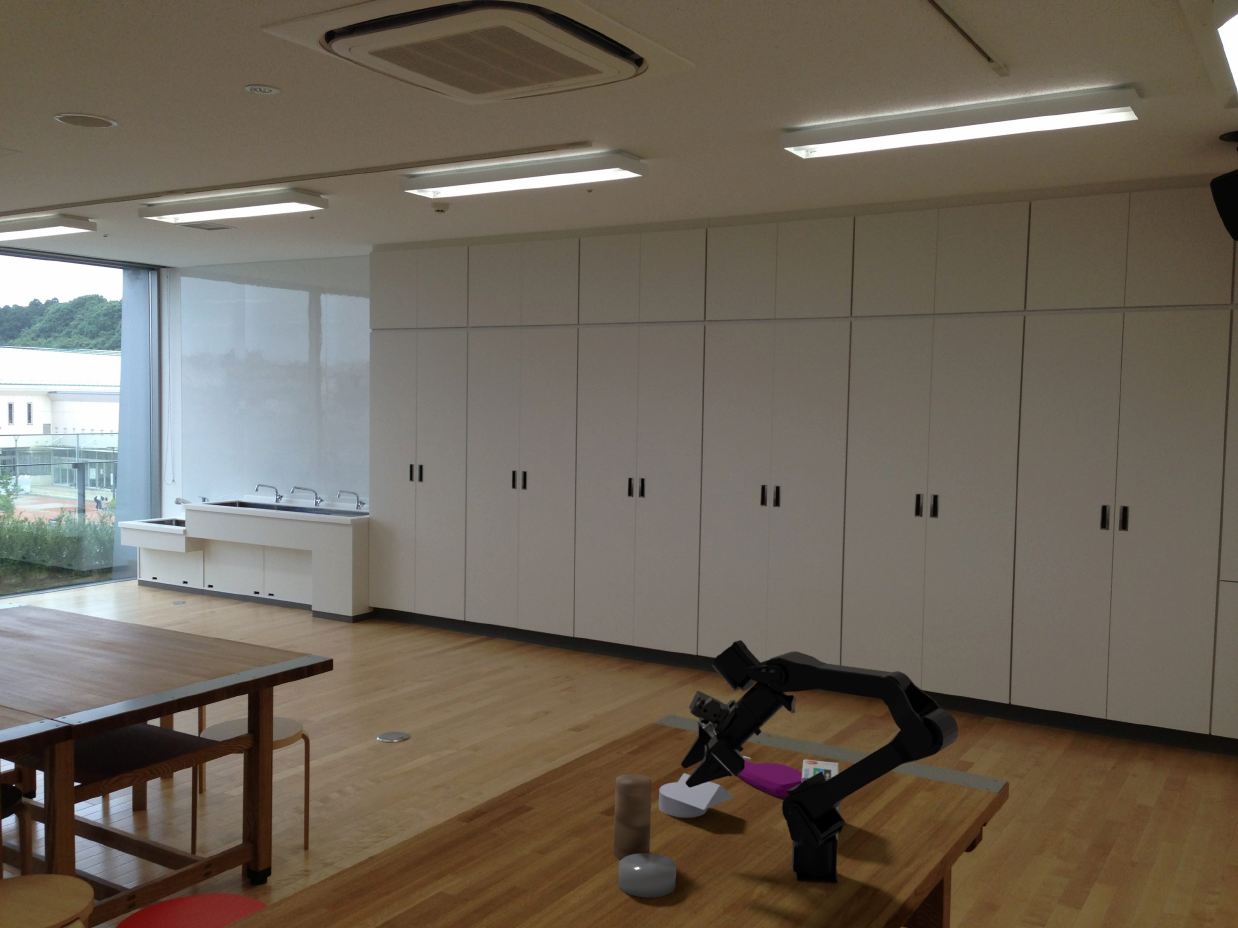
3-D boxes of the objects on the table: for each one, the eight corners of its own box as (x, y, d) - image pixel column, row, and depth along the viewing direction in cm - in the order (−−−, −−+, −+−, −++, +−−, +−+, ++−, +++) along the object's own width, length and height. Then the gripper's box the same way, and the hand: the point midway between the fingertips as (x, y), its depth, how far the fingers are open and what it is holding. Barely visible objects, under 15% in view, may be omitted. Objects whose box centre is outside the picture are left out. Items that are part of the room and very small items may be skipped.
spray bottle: (777, 801, 198) (702, 765, 219) (819, 792, 204) (743, 757, 225) (777, 786, 198) (703, 751, 219) (820, 777, 204) (743, 743, 225)
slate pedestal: (675, 872, 165) (676, 854, 165) (675, 898, 156) (675, 879, 156) (620, 869, 166) (620, 851, 166) (616, 895, 157) (616, 876, 157)
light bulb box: (838, 842, 179) (840, 781, 179) (799, 838, 181) (801, 777, 180) (837, 818, 190) (840, 761, 189) (800, 815, 191) (802, 758, 190)
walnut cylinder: (650, 846, 175) (652, 774, 175) (648, 862, 169) (650, 787, 169) (615, 844, 176) (617, 772, 175) (612, 860, 170) (614, 785, 169)
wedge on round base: (733, 814, 190) (679, 795, 199) (734, 778, 190) (680, 761, 199) (703, 828, 184) (649, 807, 193) (704, 791, 184) (650, 772, 192)
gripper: (712, 663, 181) (648, 724, 181) (725, 691, 162) (654, 759, 162) (756, 708, 181) (692, 769, 181) (774, 741, 162) (703, 809, 163)
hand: (684, 775), depth 172 cm, fingers open, 9 cm apart
